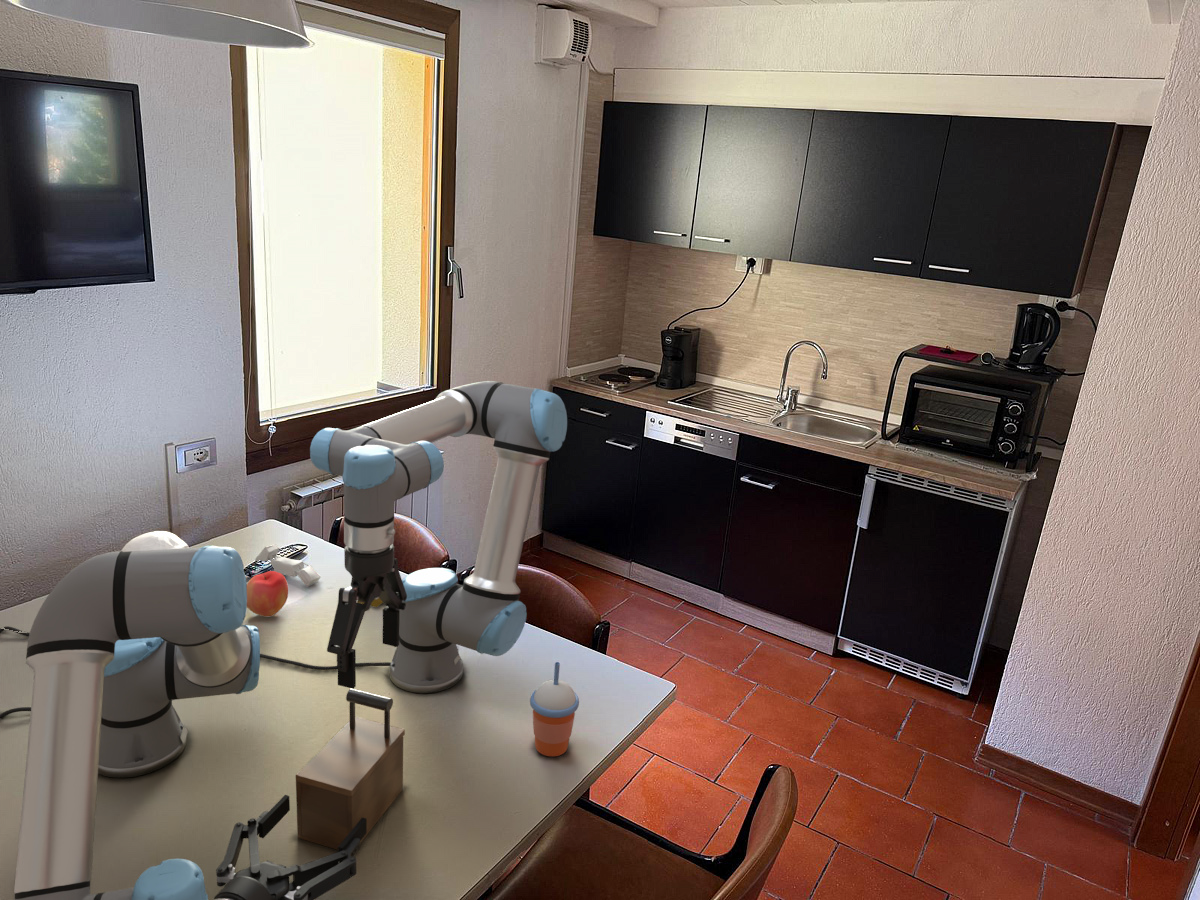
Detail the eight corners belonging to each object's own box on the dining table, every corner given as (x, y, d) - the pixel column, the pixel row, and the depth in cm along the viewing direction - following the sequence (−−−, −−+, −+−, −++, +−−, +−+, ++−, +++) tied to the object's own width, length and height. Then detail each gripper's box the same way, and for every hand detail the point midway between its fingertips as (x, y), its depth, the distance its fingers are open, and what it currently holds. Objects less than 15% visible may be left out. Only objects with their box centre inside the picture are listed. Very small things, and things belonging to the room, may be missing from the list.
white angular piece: (253, 565, 223) (254, 542, 221) (265, 560, 226) (266, 537, 224) (309, 593, 215) (310, 569, 213) (320, 588, 218) (321, 564, 216)
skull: (182, 617, 196) (179, 553, 192) (106, 597, 202) (101, 535, 198) (223, 594, 209) (221, 534, 205) (149, 577, 214) (146, 517, 210)
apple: (273, 600, 207) (272, 562, 204) (297, 613, 202) (296, 575, 199) (237, 614, 200) (234, 575, 197) (261, 628, 194) (259, 588, 191)
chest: (352, 775, 150) (352, 723, 147) (402, 789, 148) (403, 736, 145) (297, 837, 135) (295, 781, 132) (352, 854, 133) (351, 797, 130)
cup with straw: (568, 766, 157) (575, 680, 152) (521, 756, 158) (526, 671, 153) (580, 737, 165) (586, 655, 160) (534, 728, 167) (540, 646, 162)
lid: (353, 721, 148) (353, 678, 145) (404, 734, 145) (405, 691, 143) (295, 780, 132) (294, 733, 130) (351, 796, 130) (351, 749, 127)
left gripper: (156, 914, 117) (257, 812, 137) (315, 969, 111) (397, 855, 130) (152, 870, 115) (255, 773, 134) (314, 924, 109) (397, 814, 128)
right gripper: (346, 581, 121) (348, 711, 127) (428, 521, 144) (426, 633, 150) (300, 571, 122) (303, 699, 129) (388, 513, 146) (387, 624, 152)
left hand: (325, 813), depth 133 cm, fingers open, 13 cm apart
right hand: (369, 664), depth 139 cm, fingers open, 13 cm apart
